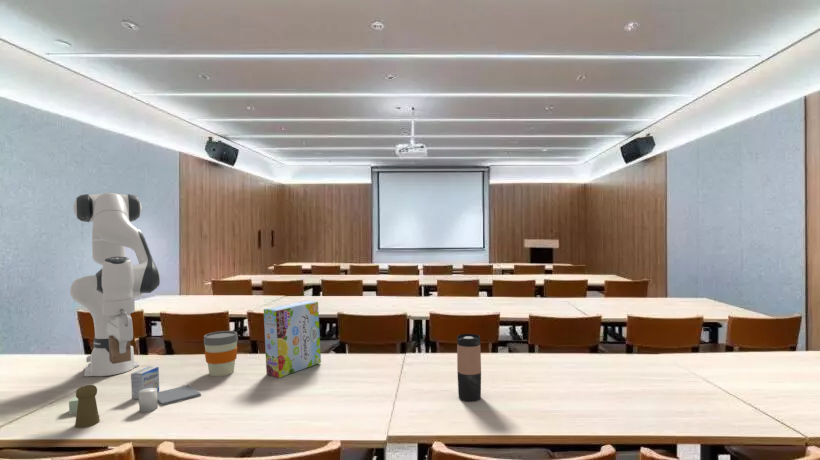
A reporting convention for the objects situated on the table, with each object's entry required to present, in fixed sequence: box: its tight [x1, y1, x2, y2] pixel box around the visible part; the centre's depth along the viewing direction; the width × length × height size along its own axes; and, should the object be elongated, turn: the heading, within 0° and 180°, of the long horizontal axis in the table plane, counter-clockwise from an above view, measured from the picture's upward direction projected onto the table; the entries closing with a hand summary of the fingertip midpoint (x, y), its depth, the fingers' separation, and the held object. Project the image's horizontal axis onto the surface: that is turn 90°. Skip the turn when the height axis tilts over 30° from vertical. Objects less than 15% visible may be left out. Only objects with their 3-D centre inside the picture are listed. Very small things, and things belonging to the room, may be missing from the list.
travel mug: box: [456, 333, 482, 403], centre depth 152 cm, size 8×8×20 cm
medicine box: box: [130, 366, 160, 400], centre depth 161 cm, size 8×4×9 cm, turn 168°
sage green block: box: [68, 396, 78, 415], centre depth 148 cm, size 4×6×4 cm, turn 114°
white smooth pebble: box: [138, 388, 158, 414], centre depth 148 cm, size 5×5×6 cm
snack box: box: [263, 300, 322, 379], centre depth 186 cm, size 22×9×26 cm, turn 144°
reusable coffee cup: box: [203, 330, 239, 377], centre depth 184 cm, size 13×13×15 cm
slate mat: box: [157, 384, 202, 406], centre depth 159 cm, size 12×12×1 cm
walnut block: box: [109, 335, 132, 364], centre depth 150 cm, size 5×5×8 cm
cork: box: [74, 384, 101, 429], centre depth 138 cm, size 6×6×11 cm
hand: (120, 350), depth 150 cm, fingers closed on walnut block, 5 cm apart
